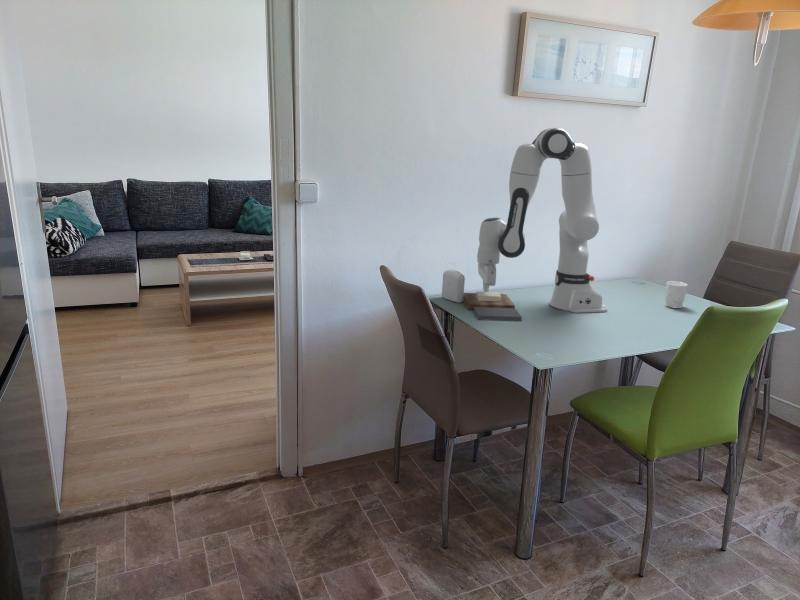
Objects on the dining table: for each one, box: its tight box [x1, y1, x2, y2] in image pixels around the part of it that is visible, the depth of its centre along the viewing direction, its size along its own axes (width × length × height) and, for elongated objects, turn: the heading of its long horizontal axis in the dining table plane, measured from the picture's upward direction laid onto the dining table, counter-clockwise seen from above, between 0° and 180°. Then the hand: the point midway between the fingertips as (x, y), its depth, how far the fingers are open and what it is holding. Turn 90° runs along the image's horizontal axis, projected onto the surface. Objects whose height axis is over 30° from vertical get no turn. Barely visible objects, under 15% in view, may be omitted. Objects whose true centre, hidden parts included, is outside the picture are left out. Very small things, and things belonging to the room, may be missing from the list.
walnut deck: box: [463, 292, 516, 311], centre depth 232 cm, size 18×16×2 cm
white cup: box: [664, 280, 689, 308], centre depth 240 cm, size 8×8×10 cm
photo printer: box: [441, 269, 466, 304], centre depth 236 cm, size 10×4×12 cm, turn 38°
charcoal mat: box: [473, 307, 523, 322], centre depth 219 cm, size 16×11×2 cm
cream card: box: [475, 291, 501, 301], centre depth 231 cm, size 9×6×2 cm, turn 92°
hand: (485, 290), depth 238 cm, fingers closed
